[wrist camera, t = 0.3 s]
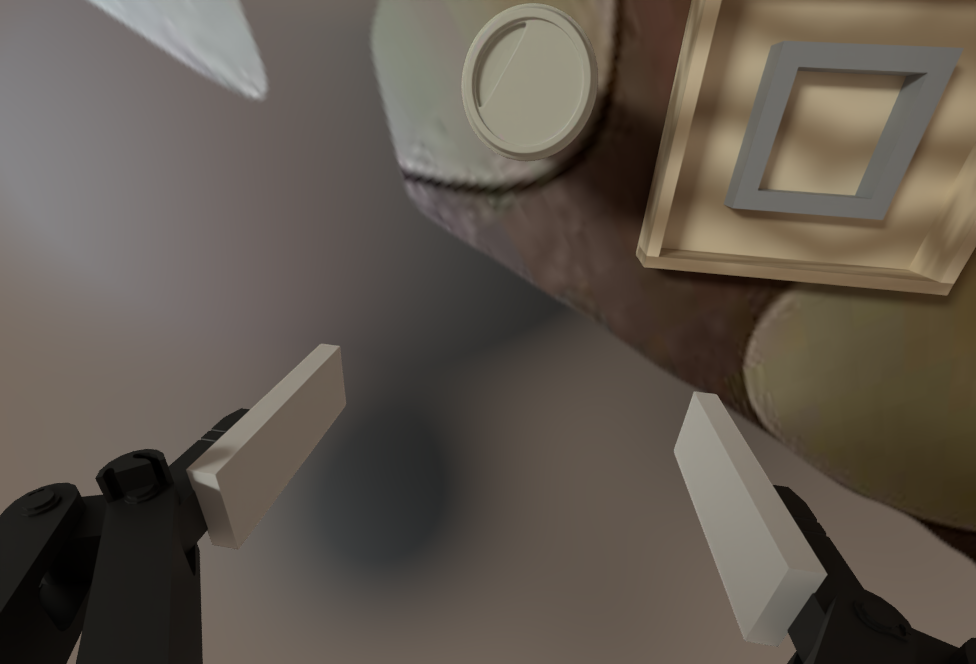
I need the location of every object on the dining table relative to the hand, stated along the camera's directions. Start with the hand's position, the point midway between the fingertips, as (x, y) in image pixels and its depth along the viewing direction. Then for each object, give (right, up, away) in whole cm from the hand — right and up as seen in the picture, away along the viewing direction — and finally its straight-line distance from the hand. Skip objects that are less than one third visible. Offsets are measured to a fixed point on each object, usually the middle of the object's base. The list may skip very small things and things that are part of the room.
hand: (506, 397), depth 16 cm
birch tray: (+26, +18, +18) cm, 36 cm away
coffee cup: (+3, +22, +20) cm, 30 cm away
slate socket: (+26, +18, +18) cm, 36 cm away
